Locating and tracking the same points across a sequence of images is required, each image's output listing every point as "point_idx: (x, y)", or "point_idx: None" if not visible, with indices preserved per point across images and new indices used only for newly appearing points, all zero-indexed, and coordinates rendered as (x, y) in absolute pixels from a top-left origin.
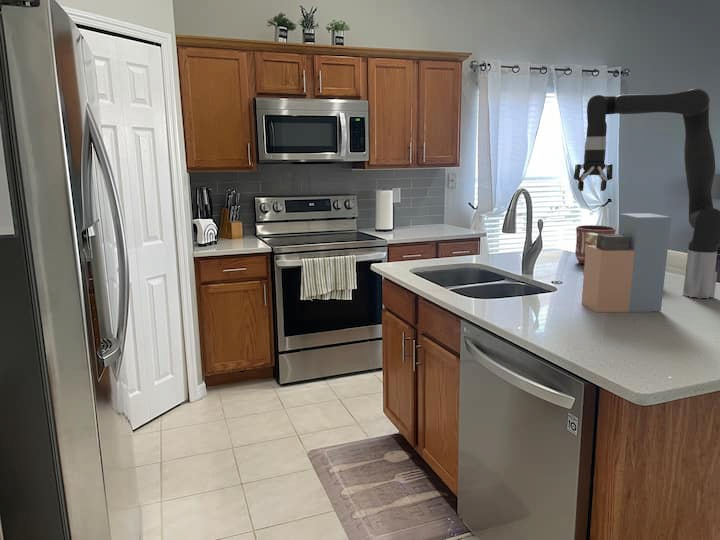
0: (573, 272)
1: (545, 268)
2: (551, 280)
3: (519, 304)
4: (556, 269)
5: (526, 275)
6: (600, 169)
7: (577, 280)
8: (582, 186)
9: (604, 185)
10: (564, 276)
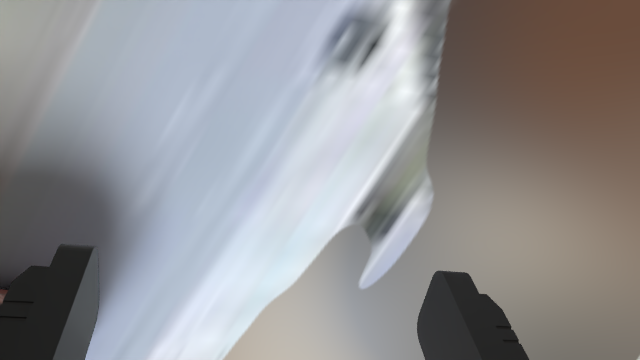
0: (172, 205)
1: (254, 282)
2: (354, 81)
3: None
4: (217, 262)
5: (402, 183)
6: None
7: (236, 60)
8: (480, 315)
9: (47, 305)
10: (253, 142)
